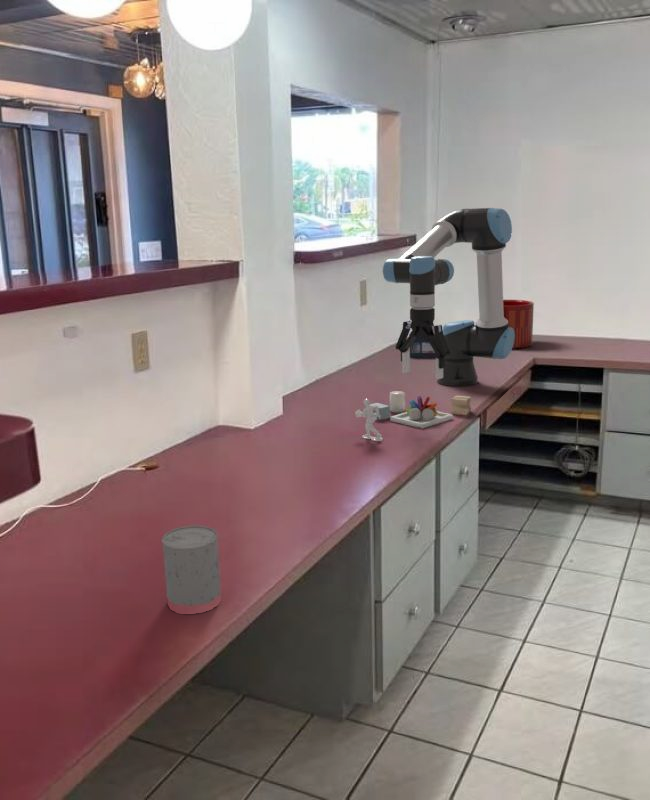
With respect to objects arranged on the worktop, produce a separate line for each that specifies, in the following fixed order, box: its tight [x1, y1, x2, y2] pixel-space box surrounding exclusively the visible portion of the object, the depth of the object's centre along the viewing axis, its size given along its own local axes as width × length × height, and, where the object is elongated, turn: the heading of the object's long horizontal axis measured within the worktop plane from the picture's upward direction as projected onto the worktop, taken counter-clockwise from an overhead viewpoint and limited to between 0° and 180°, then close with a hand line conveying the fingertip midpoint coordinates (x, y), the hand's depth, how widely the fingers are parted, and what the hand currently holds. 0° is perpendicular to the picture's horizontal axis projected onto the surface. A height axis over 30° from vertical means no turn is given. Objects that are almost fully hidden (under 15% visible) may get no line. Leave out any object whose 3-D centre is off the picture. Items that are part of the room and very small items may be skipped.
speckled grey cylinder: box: [161, 525, 222, 606], centre depth 137 cm, size 10×10×12 cm
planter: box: [503, 299, 535, 350], centre depth 367 cm, size 23×23×20 cm
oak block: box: [450, 395, 472, 416], centre depth 255 cm, size 5×5×5 cm
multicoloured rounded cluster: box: [406, 395, 438, 421], centre depth 247 cm, size 8×10×7 cm
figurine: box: [354, 398, 384, 442], centre depth 229 cm, size 5×9×12 cm, turn 58°
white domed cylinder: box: [389, 390, 406, 414], centre depth 259 cm, size 5×5×6 cm
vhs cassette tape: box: [409, 335, 438, 359], centre depth 345 cm, size 18×3×10 cm, turn 83°
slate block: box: [369, 402, 391, 421], centre depth 253 cm, size 4×6×4 cm, turn 39°
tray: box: [390, 410, 454, 430], centre depth 248 cm, size 15×13×1 cm
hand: (422, 375), depth 245 cm, fingers open, 13 cm apart
